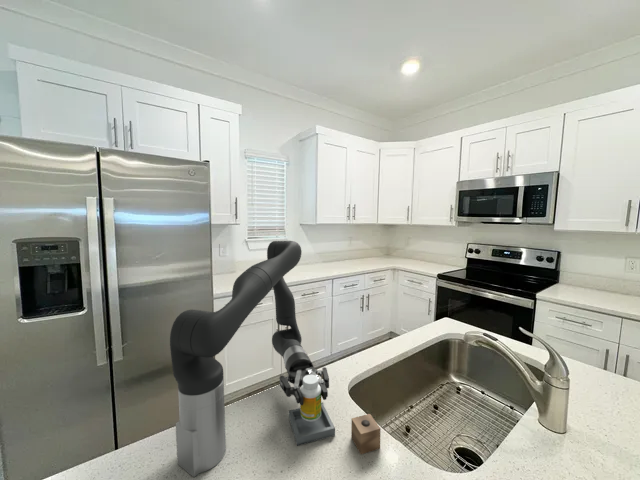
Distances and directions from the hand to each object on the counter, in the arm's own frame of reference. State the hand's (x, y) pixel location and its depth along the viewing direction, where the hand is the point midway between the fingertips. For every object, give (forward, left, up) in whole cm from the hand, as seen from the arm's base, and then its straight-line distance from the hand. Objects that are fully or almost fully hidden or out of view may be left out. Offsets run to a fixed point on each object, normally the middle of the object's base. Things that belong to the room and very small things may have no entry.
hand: (313, 398), depth 66 cm
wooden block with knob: (+4, -12, -9) cm, 16 cm away
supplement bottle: (+2, +2, -6) cm, 7 cm away
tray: (+1, +2, -9) cm, 9 cm away
